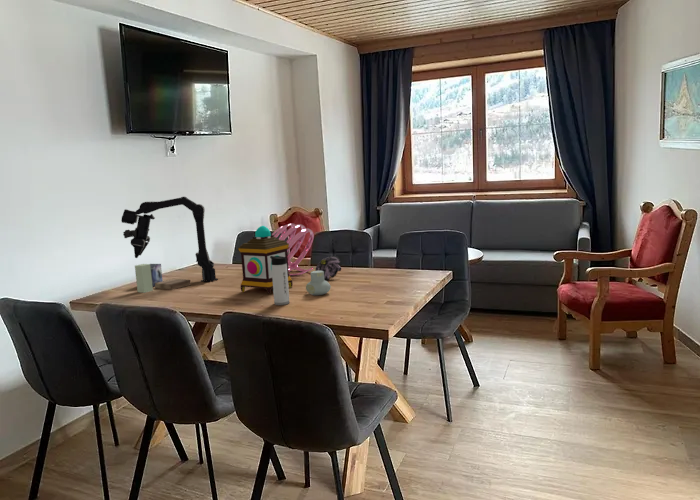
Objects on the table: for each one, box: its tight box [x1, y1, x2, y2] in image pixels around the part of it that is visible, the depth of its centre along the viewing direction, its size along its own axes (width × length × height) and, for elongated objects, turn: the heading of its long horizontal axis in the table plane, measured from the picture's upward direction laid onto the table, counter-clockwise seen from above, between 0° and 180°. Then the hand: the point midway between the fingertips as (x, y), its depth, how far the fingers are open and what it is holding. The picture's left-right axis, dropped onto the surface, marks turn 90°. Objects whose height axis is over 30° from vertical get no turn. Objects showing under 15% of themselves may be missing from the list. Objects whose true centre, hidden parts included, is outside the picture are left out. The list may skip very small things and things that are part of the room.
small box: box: [149, 263, 164, 288], centre depth 285 cm, size 11×6×10 cm, turn 168°
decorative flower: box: [314, 255, 342, 282], centre depth 280 cm, size 15×12×15 cm
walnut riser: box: [154, 278, 192, 291], centre depth 280 cm, size 12×12×2 cm
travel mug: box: [270, 256, 290, 306], centre depth 230 cm, size 6×7×20 cm
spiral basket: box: [271, 223, 315, 277], centre depth 295 cm, size 28×28×27 cm
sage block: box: [134, 263, 154, 294], centre depth 271 cm, size 5×5×13 cm
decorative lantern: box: [237, 225, 294, 296], centre depth 258 cm, size 20×20×30 cm
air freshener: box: [305, 270, 332, 296], centre depth 245 cm, size 11×8×10 cm
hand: (137, 256), depth 282 cm, fingers open, 9 cm apart
